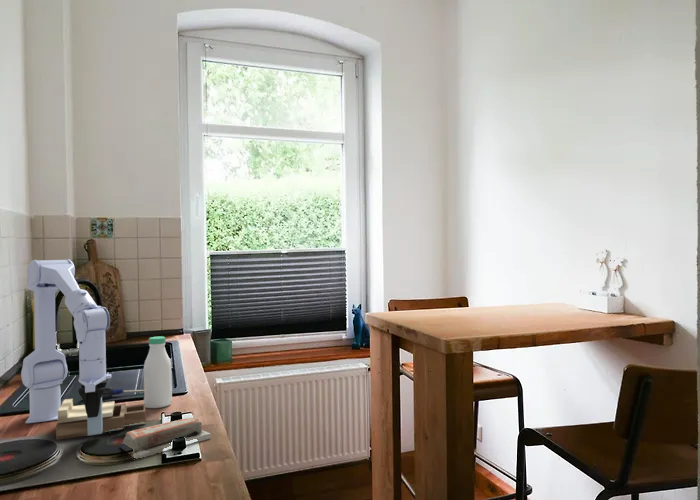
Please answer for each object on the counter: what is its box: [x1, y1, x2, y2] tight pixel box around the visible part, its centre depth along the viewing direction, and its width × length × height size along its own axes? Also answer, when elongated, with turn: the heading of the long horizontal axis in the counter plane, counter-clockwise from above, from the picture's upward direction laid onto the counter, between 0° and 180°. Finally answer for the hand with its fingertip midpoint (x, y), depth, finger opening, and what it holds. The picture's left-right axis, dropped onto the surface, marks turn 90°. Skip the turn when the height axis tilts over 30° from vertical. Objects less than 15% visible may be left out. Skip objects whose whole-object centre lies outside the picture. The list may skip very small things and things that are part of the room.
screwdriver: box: [102, 385, 144, 399], centre depth 158 cm, size 26×4×4 cm, turn 112°
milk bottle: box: [143, 335, 173, 409], centre depth 147 cm, size 8×8×20 cm
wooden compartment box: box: [55, 403, 146, 441], centre depth 130 cm, size 12×20×3 cm, turn 112°
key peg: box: [87, 397, 103, 436], centre depth 120 cm, size 3×3×8 cm
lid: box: [57, 398, 116, 423], centre depth 128 cm, size 10×12×3 cm
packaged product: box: [122, 417, 212, 460], centre depth 117 cm, size 18×5×10 cm
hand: (93, 414), depth 120 cm, fingers closed on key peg, 3 cm apart
